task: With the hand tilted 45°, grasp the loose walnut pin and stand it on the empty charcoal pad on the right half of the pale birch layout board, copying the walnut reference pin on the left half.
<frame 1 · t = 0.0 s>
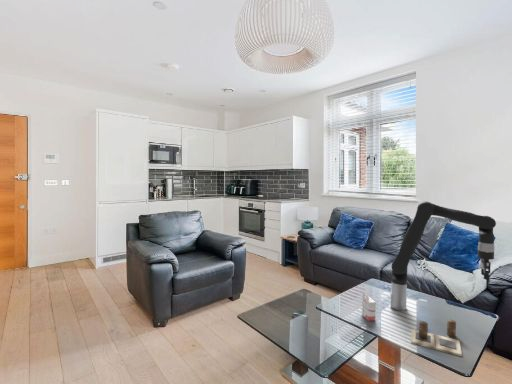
hand: (484, 277, 164), 29 cm above the table, tool pointing down, fingers open, 8 cm apart
reference pin: (423, 339, 151), resting on layout board
walnut pin: (451, 335, 155), on the table
layout board: (435, 342, 148), on the table
ink cartridge box: (368, 317, 175), on the table
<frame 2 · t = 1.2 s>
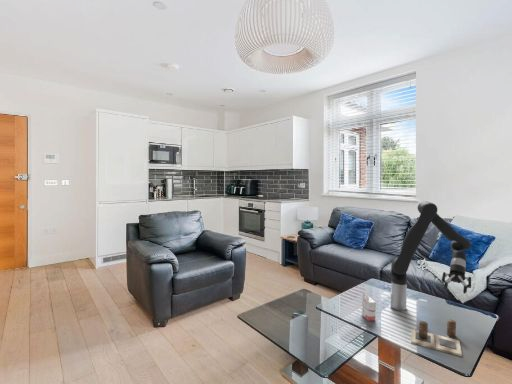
hand: (455, 291, 163), 21 cm above the table, tool tilted 45°, fingers open, 8 cm apart
nothing on the table moved.
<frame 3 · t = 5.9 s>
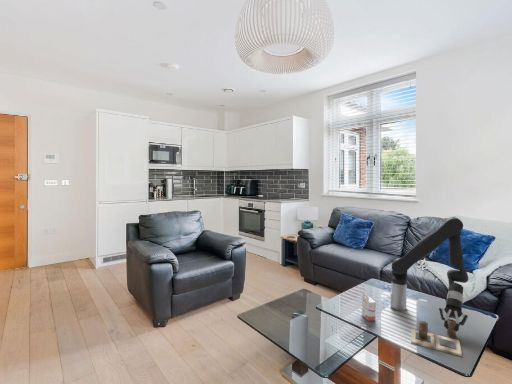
hand: (451, 329, 154), 4 cm above the table, tool tilted 45°, fingers closed on walnut pin, 4 cm apart
walnut pin: (451, 335, 155), on the table, touching gripper
everything else where it was.
when the fingers open (7 cm above the table, at t = 11.4 s): walnut pin drops 1 cm, resting on layout board.
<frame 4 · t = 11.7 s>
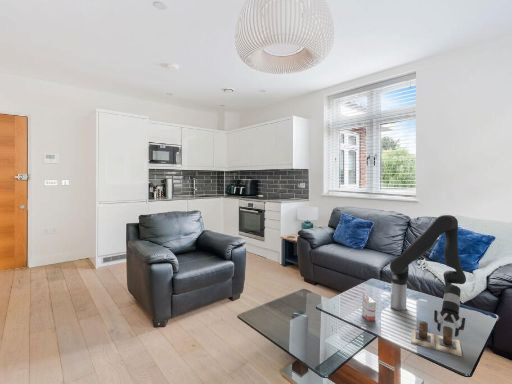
hand: (447, 333, 144), 7 cm above the table, tool tilted 45°, fingers open, 6 cm apart
walnut pin: (447, 343, 146), point 1 cm above the table, touching layout board
everything else where it was.
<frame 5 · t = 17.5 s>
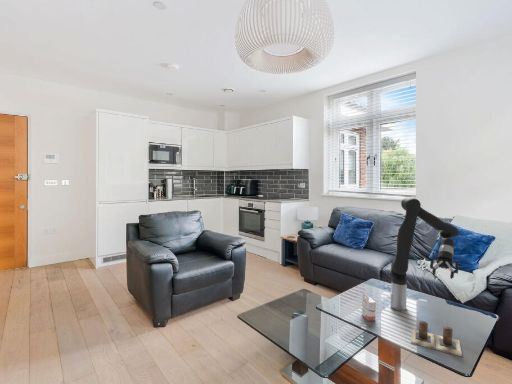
hand: (442, 276, 167), 29 cm above the table, tool tilted 45°, fingers open, 8 cm apart
nothing on the table moved.
at the end: walnut pin 0.1 cm from the target spot on the layout board, point 1.3 cm above the layout board's base; walnut pin tilted 0°; the gripper is holding nothing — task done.
